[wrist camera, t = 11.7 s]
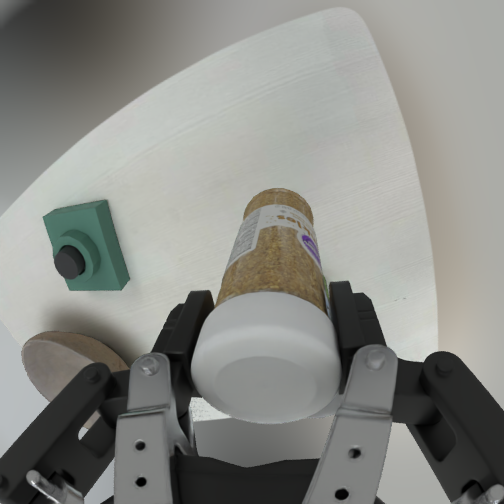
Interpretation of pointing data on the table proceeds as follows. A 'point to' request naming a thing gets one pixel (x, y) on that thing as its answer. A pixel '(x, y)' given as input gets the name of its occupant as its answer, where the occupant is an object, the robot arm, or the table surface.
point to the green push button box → (89, 245)
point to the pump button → (69, 262)
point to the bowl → (64, 361)
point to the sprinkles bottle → (270, 320)
